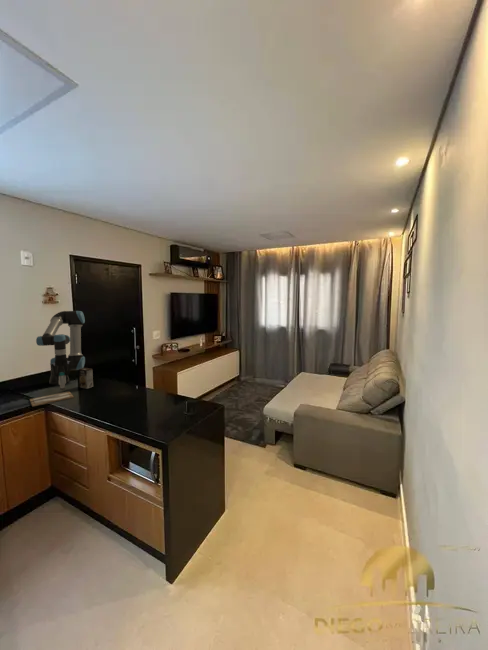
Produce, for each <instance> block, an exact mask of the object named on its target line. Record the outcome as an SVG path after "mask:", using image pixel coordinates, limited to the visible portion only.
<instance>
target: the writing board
mask: <svg viewBox="0 0 488 650" xmlns="http://www.w3.org/2000/svg"><path fill="white" fill-rule="evenodd" d="M74 398H75V397H74V395H73V393H71V392H70V391H65V392H63V391H62V392H59V393H55V394H50V395H49V394H47V395H44V396H38V397H34V398H30V399H29V402H30V405H31V407H32V408H33V407H38V406H42V405H48V404H51V403H50V402H53V403H56V401H57V402H61V400H62V401H66V399H67V400H71V399H74Z"/></svg>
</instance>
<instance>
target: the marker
mask: <svg viewBox="0 0 488 650" xmlns="http://www.w3.org/2000/svg"><path fill="white" fill-rule="evenodd" d="M64 375H65V372H60V373H59V376H60V385H59V390H65V389H66V384H65V378H64Z"/></svg>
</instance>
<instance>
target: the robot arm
mask: <svg viewBox="0 0 488 650" xmlns="http://www.w3.org/2000/svg"><path fill="white" fill-rule="evenodd" d="M85 322H86V320H85V315H84V312H83V311H81V310H63V311H59V312H57V313H55V314H54V315H53V316H52V317H51V318H50V323H49V324H48V326H47V327H46V329H45V331H44V333H43V334H42V335H39V336H37V337H36V340H35V342H36V345H37V346H53V347H54V348H53V349H54V357H52V358H51V359H50V363H49V364H50V377H49V385H54V386H56V385H59V386H60V376H59V373H60V372H65V375H64V378H65V385H66V384H68V383H69V382H70V378H69V375H70V374H71V371H79V369H81V368H85V364H86V357H85V356H84V355H83V354H82V338H81V337H82V332H81V331H82V330H81V329H82V327H83V325H84V324H85ZM65 324H66V325H67V326H68V327H69V335H68V334H57V332H58V331H59V328H60V327H61V326H62V325H65ZM67 345H69V354H68V356H67V347H66V346H67Z"/></svg>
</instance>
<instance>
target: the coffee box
mask: <svg viewBox="0 0 488 650" xmlns="http://www.w3.org/2000/svg"><path fill="white" fill-rule="evenodd" d="M93 371H94V370H93V368H88V367H83V368H81V369H79V370H78V376H79V377H78V378H79V379H78V381H79V388H82V389H86V390H87V389H91V388H92V387H94V379H93V378H94V376H93V375H94V373H93Z"/></svg>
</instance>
